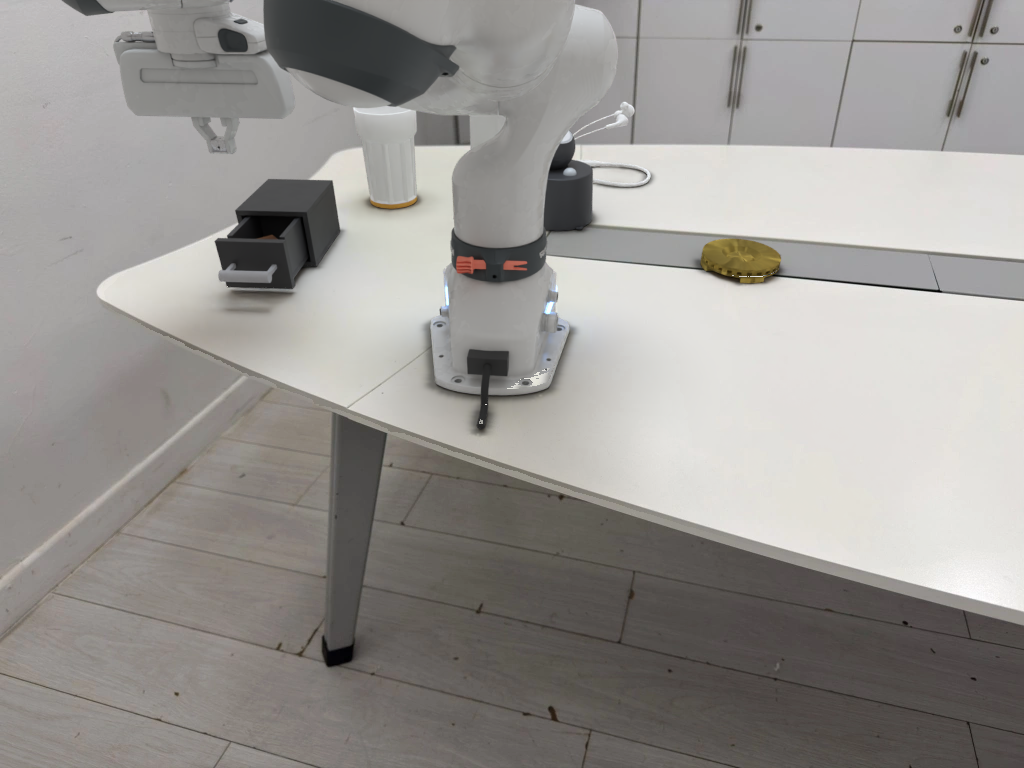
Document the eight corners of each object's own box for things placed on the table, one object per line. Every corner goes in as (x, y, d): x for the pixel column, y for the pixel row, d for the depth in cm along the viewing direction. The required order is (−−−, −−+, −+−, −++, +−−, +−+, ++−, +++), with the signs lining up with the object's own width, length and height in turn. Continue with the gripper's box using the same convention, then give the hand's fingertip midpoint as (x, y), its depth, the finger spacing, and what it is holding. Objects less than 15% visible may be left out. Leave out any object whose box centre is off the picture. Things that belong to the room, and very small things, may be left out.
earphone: (560, 143, 150) (626, 92, 140) (602, 203, 155) (670, 158, 145) (544, 161, 139) (615, 107, 130) (591, 225, 144) (663, 177, 134)
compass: (756, 290, 101) (759, 277, 100) (686, 266, 107) (688, 254, 106) (790, 265, 108) (793, 252, 107) (722, 244, 115) (725, 232, 113)
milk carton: (491, 174, 144) (490, 79, 133) (518, 180, 141) (519, 83, 130) (471, 183, 140) (468, 85, 129) (498, 190, 136) (497, 90, 125)
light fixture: (554, 144, 107) (506, 124, 117) (551, 238, 117) (506, 212, 126) (618, 132, 113) (567, 114, 123) (610, 222, 123) (563, 199, 132)
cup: (358, 194, 134) (346, 102, 124) (413, 187, 137) (406, 97, 127) (372, 214, 125) (360, 117, 115) (430, 206, 129) (423, 110, 119)
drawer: (283, 303, 95) (272, 255, 91) (214, 301, 96) (201, 253, 91) (319, 251, 110) (311, 208, 106) (259, 249, 110) (249, 206, 106)
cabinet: (316, 266, 107) (306, 211, 102) (248, 265, 107) (234, 210, 102) (340, 231, 119) (332, 180, 114) (278, 229, 119) (268, 178, 114)
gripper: (93, 34, 76) (132, 157, 84) (268, 37, 75) (291, 161, 83) (123, 27, 81) (157, 143, 89) (288, 29, 80) (308, 147, 88)
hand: (223, 152), depth 86 cm, fingers closed
